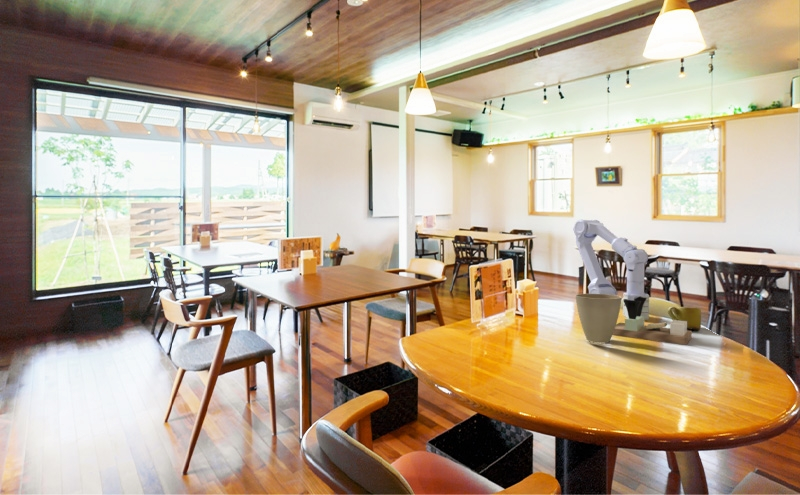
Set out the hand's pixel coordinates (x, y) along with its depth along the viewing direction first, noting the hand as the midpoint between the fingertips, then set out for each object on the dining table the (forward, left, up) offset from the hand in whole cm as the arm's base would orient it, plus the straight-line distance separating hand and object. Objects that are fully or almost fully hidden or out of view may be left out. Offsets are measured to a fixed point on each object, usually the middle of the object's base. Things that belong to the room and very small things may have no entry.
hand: (634, 317), depth 162 cm
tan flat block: (+7, +1, -2) cm, 7 cm away
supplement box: (-5, +26, -7) cm, 27 cm away
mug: (+13, +20, -7) cm, 25 cm away
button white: (+14, 0, -4) cm, 15 cm away
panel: (+5, +1, -6) cm, 8 cm away
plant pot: (-8, -19, -7) cm, 22 cm away
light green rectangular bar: (0, 0, -4) cm, 4 cm away
